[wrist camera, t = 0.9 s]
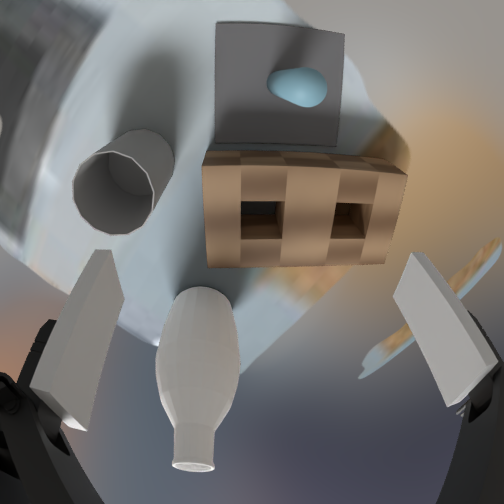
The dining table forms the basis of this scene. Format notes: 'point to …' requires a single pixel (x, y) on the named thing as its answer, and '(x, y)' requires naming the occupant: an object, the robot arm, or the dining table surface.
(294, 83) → the peg
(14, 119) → the dining table surface
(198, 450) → the bottle
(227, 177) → the block
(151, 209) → the cup
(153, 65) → the dining table surface
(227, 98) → the mat
